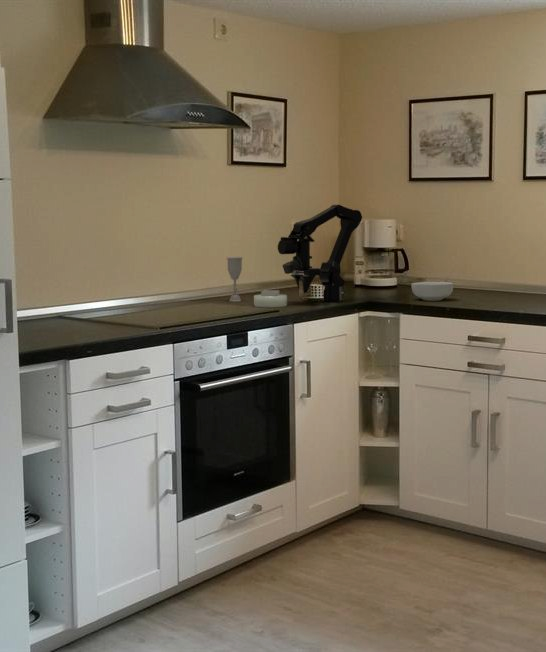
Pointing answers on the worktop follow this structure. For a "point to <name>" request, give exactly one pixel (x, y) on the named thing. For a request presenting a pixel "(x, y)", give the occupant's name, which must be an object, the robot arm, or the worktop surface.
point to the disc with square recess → (270, 299)
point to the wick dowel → (301, 289)
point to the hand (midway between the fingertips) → (302, 292)
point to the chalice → (234, 273)
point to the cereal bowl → (432, 290)
